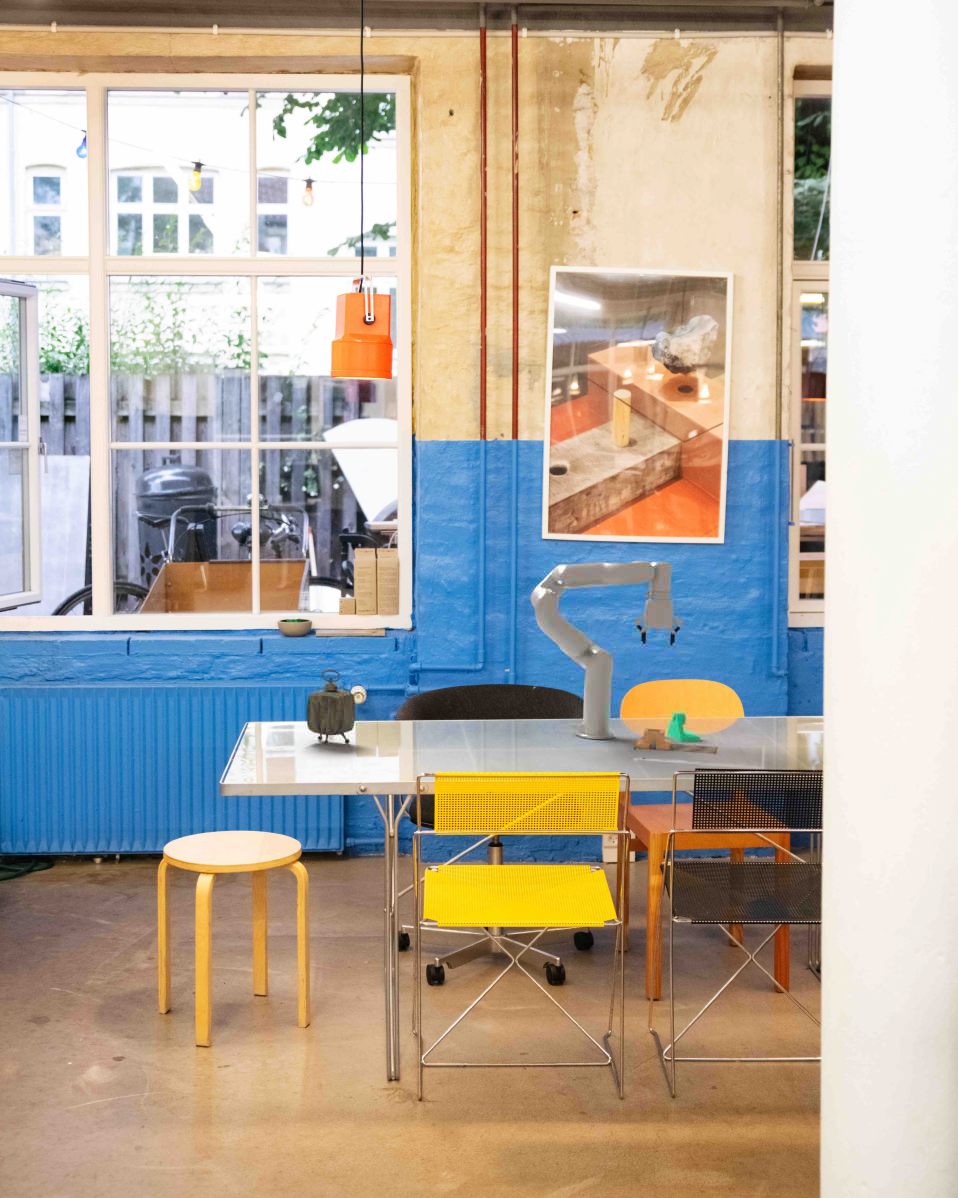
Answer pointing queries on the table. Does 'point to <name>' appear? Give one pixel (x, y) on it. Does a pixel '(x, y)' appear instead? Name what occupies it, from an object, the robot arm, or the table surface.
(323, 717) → the tabletop clock
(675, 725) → the camera mount
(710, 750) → the board
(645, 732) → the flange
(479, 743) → the table surface
